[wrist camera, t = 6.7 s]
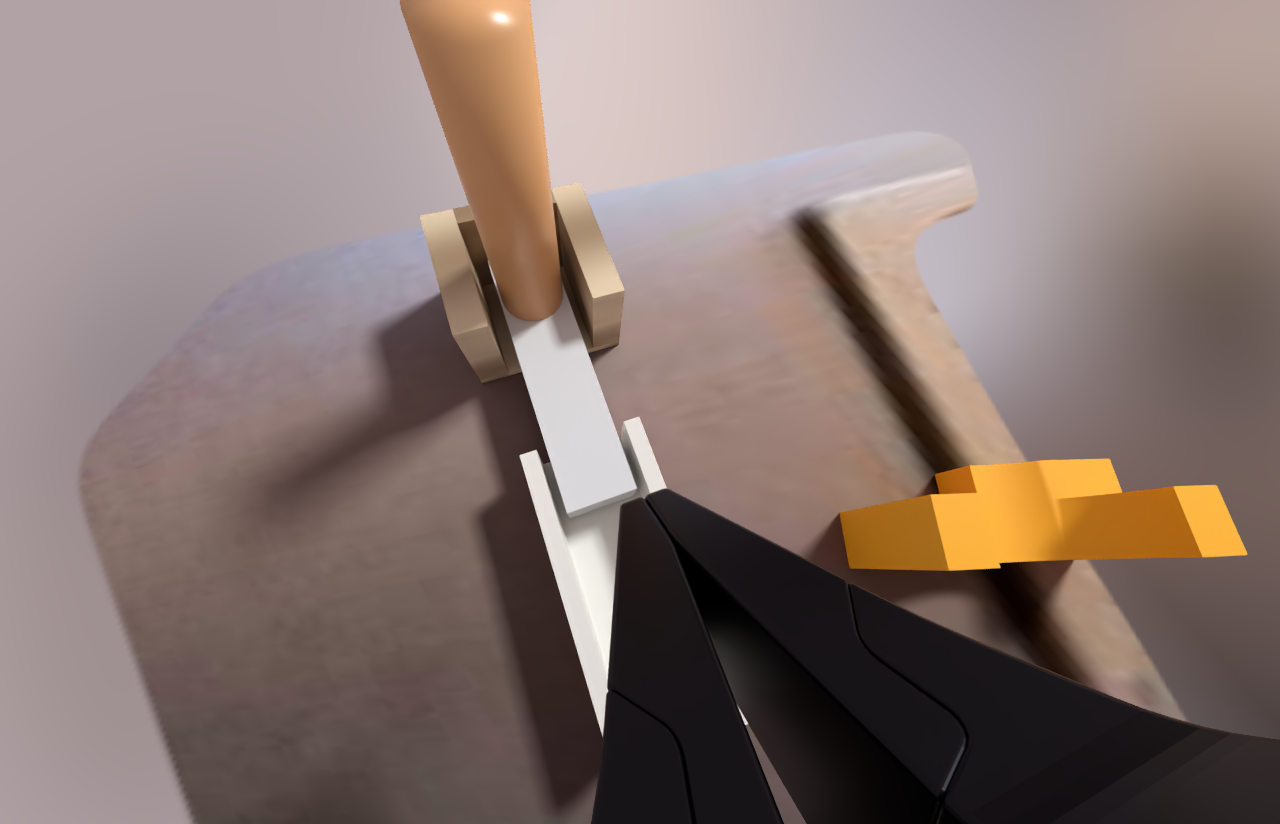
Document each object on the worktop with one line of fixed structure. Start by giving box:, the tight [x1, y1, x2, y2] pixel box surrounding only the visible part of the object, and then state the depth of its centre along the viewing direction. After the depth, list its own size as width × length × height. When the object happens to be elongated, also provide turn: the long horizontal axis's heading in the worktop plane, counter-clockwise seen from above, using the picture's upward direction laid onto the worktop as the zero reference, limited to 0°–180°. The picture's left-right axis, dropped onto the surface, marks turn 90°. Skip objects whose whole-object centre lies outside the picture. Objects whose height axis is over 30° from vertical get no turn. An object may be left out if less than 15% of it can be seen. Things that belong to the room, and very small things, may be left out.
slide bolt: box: [400, 0, 637, 518], centre depth 16 cm, size 12×3×14 cm, turn 20°
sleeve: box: [519, 417, 748, 736], centre depth 19 cm, size 12×5×3 cm, turn 20°
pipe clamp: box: [840, 459, 1247, 571], centre depth 20 cm, size 12×4×6 cm, turn 92°
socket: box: [420, 183, 625, 383], centre depth 22 cm, size 6×7×5 cm
